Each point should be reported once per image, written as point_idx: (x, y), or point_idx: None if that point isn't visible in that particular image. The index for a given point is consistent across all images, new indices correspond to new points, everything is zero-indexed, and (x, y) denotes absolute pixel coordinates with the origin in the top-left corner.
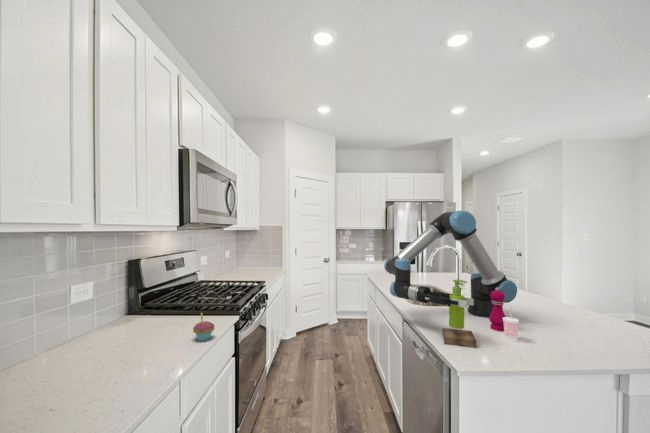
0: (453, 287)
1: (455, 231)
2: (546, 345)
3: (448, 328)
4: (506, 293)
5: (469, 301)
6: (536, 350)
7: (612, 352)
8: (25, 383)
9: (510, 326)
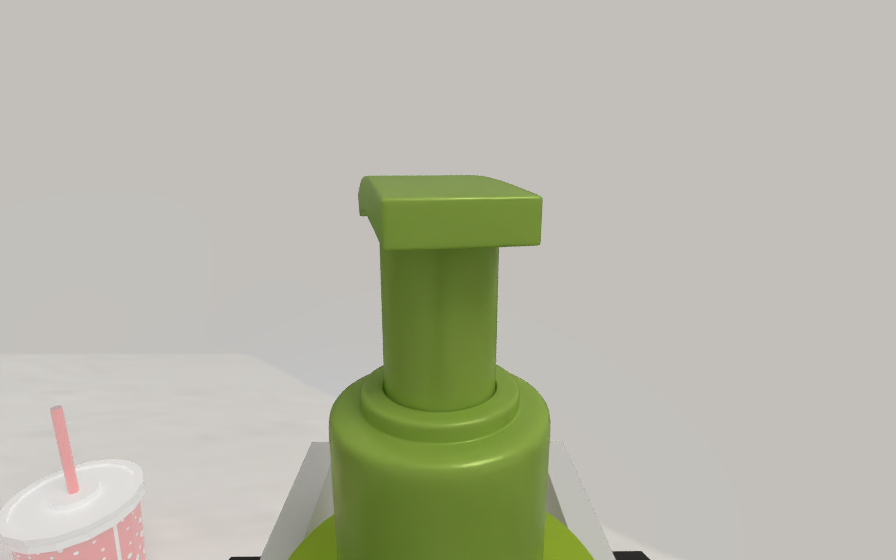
0: (503, 439)
1: None
2: None
3: None
4: None
5: (330, 514)
6: (255, 502)
7: (140, 382)
8: None
9: (137, 525)
